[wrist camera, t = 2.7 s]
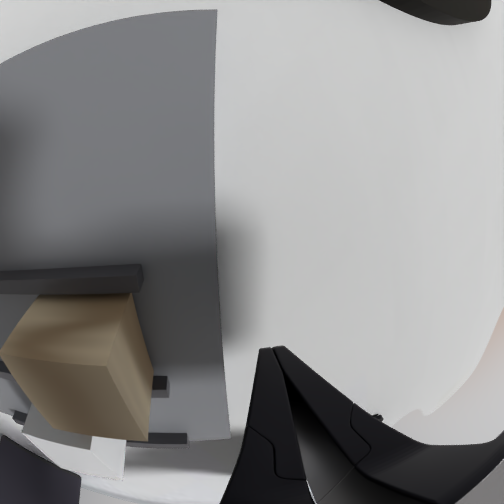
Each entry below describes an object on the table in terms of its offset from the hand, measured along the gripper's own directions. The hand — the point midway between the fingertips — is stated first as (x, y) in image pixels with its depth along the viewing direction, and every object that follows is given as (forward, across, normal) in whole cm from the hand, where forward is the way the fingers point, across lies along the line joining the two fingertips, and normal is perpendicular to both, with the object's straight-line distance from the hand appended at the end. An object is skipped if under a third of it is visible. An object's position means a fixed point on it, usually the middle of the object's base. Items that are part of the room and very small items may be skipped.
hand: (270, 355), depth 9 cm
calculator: (+3, +26, +23) cm, 34 cm away
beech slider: (+1, +6, 0) cm, 7 cm away
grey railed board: (+3, +12, -1) cm, 12 cm away
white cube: (+1, +10, +6) cm, 11 cm away
